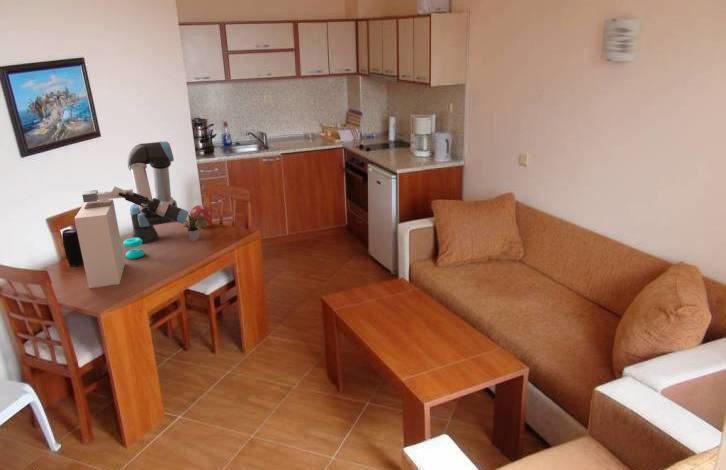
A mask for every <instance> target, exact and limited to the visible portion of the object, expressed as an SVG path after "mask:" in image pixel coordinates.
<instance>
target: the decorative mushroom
mask: <svg viewBox="0 0 726 470" xmlns="http://www.w3.org/2000/svg"><path fill="white" fill-rule="evenodd" d="M190 213H191V214H192V216H193V217H194V219H195V216H196V215H197V214H198V215H197V218H198V217H199V216H200V215H202V216H200V217H199V218H198V220H199V219H200V218H201V219H200V220H199V221H198V220H197V221H196V224H197V223H198V224H197V225H199V226H198V227H199V228H201V227H203V228H205V227H207V225H208V220H207V219H208V218H210V217H211V216H212V211H211V210H210V208H209V207H208V206H206V205H204V204H199V205H196V206H193V208H192V209H191V211H190ZM190 213H189V215H190V216H191V214H190ZM191 218H192V217H191ZM197 218H196V219H197ZM199 222H200V223H199ZM201 222H202V223H201ZM204 226H205V227H204ZM198 227H197V228H198Z"/></svg>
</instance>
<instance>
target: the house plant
mask: <svg viewBox="0 0 726 470" xmlns="http://www.w3.org/2000/svg"><path fill="white" fill-rule="evenodd" d="M190 214H191V213H188V216H187V218H188V221H189V222H188V221H187V220H186V221H185V222H184V224H185V225H183V227H185V228H187V235H188V237H189V240H190V241H192V240H195V241H197V240H196V239H198V240H199V239H200V227H199V228H198V226H199V225H197V224H198V223H197V222H196V221H197V220H198V218H199V217H200V216H202V215H200V216H199V217H198V218H197V215H198V214H197V215H196V216H195V219H194V217H193V216H192V214H191V216H190ZM191 217H192V218H191ZM196 218H197V219H196ZM200 219H201V218H200ZM200 219H199V220H200ZM199 220H198V221H199ZM199 223H200V222H199ZM201 223H202V222H201Z"/></svg>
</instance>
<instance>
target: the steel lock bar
mask: <svg viewBox="0 0 726 470" xmlns="http://www.w3.org/2000/svg"><path fill="white" fill-rule="evenodd" d="M120 191H122V192H125V193H128V195H131V196H133V195H134V194H133V192H134V189H132V188H131V189H123V190H120ZM121 198H122V197H120V196H117V195H115V194H112V191H110V190H109V191H104V192H103V191H101V192H99V191H98V190H97V189H94V190H87V191H84V192H83V193H82V200H83V203H87V202H94V201H103V200H113V199H121ZM122 199H123V198H122Z"/></svg>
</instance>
